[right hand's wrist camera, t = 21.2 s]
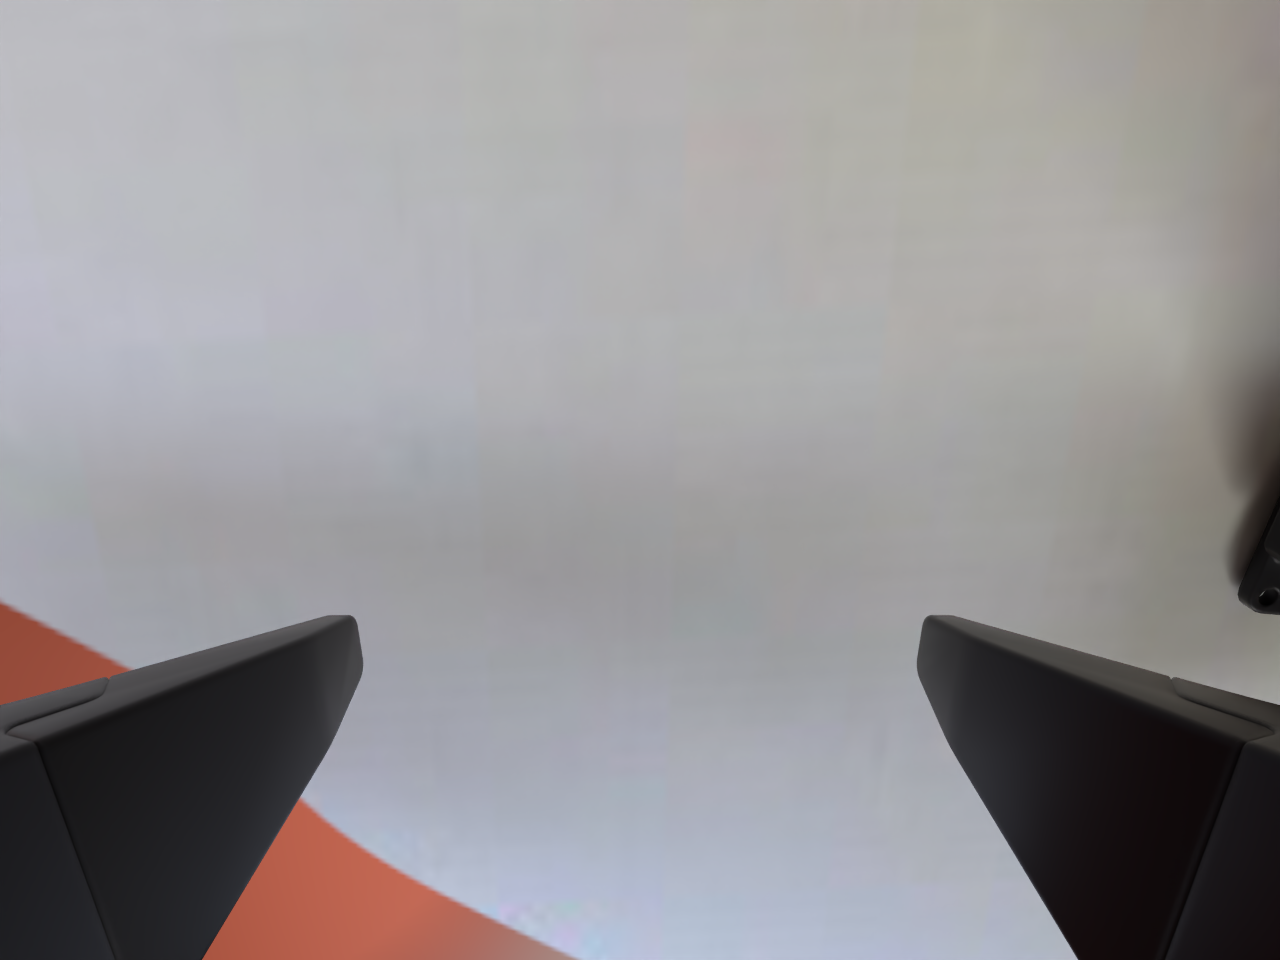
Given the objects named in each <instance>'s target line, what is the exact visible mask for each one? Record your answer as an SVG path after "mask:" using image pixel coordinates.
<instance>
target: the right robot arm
mask: <svg viewBox="0 0 1280 960" xmlns="http://www.w3.org/2000/svg"><path fill="white" fill-rule="evenodd" d="M1264 591H1265V592H1264ZM1262 592H1264V594H1263V595H1261V594H1262ZM1260 595H1261V596H1260ZM1259 596H1260V597H1259ZM1238 598H1239V600H1240V601H1241V602H1242V603H1243V604H1244V605H1246V606H1247V607H1249V608H1250V609H1252V610H1253V611H1255V612H1258V613H1263V614H1275V615H1280V497H1279V499H1278V501H1277V504H1276V506H1275V508H1274V511H1273V513H1272V515H1271V517H1270V520H1269V522H1268V524H1267V526H1266V529H1265V531H1264V533H1263V535H1262V538H1261V540H1260V542H1259V544H1258V547H1257V549H1256V551H1255V553H1254V556H1253V558H1252V560H1251V563H1250V565H1249V567H1248V569H1247V572H1246V574H1245V576H1244V578H1243V581H1242V583H1241V585H1240V587H1239V591H1238ZM362 671H363V657H362V651H361V644H360V638H359V632H358V626H357V622H356V620H355V618H354V617H353V616H350V615H329V616H324V617H320V618H317V619H313V620H310V621H306V622H303V623H299V624H296V625H292V626H288V627H285V628H281V629H278V630H274V631H271V632H267V633H263V634H260V635H256V636H253V637H249V638H246V639H242V640H239V641H235V642H231V643H228V644H224V645H221V646H217V647H214V648H210V649H207V650H203V651H199V652H196V653H192V654H189V655H185V656H182V657H178V658H174V659H171V660H167V661H164V662H160V663H157V664H153V665H150V666H146V667H142V668H139V669H135V670H132V671H128V672H125V673H121V674H118V675H114V676H111V677H110V679H108V678H106V677H104V678H100V679H96V680H93V681H89V682H85V683H82V684H79V685H75V686H71V687H67V688H64V689H60V690H56V691H52V692H49V693H45V694H41V695H38V696H34V697H30V698H26V699H23V700H19V701H15V702H11V703H7V704H3V705H0V960H202V959H203V957H204V955H205V954H206V952H207V950H208V949H209V947H210V945H211V944H212V942H213V940H214V939H215V937H216V935H217V934H218V932H219V930H220V929H221V927H222V925H223V924H224V922H225V920H226V919H227V917H228V915H229V914H230V912H231V911H232V909H233V907H234V906H235V904H236V902H237V901H238V899H239V897H240V895H241V894H242V892H243V891H244V889H245V887H246V886H247V884H248V882H249V881H250V879H251V877H252V876H253V874H254V872H255V871H256V869H257V867H258V866H259V864H260V862H261V861H262V859H263V857H264V856H265V854H266V852H267V851H268V849H269V847H270V846H271V844H272V842H273V841H274V839H275V838H276V836H277V834H278V832H279V831H280V829H281V827H282V826H283V824H284V823H285V821H286V819H287V817H288V816H289V814H290V813H291V811H292V809H293V808H294V806H295V804H296V803H297V801H298V799H299V798H300V796H301V794H302V793H303V791H304V789H305V788H306V786H307V784H308V783H309V781H310V779H311V778H312V776H313V774H314V773H315V771H316V769H317V768H318V766H319V765H320V763H321V761H322V760H323V758H324V756H325V754H326V753H327V751H328V749H329V747H330V745H331V743H332V741H333V739H334V737H335V735H336V733H337V731H338V728H339V726H340V724H341V722H342V719H343V717H344V715H345V713H346V710H347V708H348V706H349V704H350V701H351V699H352V697H353V694H354V692H355V690H356V688H357V685H358V683H359V681H360V678H361V675H362ZM917 671H918V675H919V678H920V681H921V683H922V685H923V688H924V690H925V692H926V694H927V697H928V699H929V701H930V704H931V706H932V708H933V710H934V713H935V715H936V717H937V719H938V722H939V724H940V726H941V728H942V731H943V733H944V735H945V737H946V739H947V741H948V743H949V745H950V747H951V749H952V751H953V753H954V754H955V756H956V758H957V760H958V761H959V763H960V765H961V766H962V768H963V769H964V771H965V773H966V774H967V776H968V778H969V779H970V781H971V783H972V784H973V786H974V788H975V789H976V791H977V793H978V794H979V796H980V798H981V799H982V801H983V803H984V804H985V806H986V808H987V809H988V811H989V813H990V814H991V816H992V818H993V819H994V821H995V823H996V824H997V826H998V828H999V829H1000V831H1001V833H1002V834H1003V836H1004V838H1005V839H1006V841H1007V842H1008V844H1009V846H1010V847H1011V849H1012V851H1013V852H1014V854H1015V856H1016V857H1017V859H1018V861H1019V862H1020V864H1021V866H1022V867H1023V869H1024V871H1025V872H1026V874H1027V876H1028V877H1029V879H1030V881H1031V882H1032V884H1033V886H1034V887H1035V889H1036V891H1037V892H1038V894H1039V896H1040V897H1041V899H1042V901H1043V902H1044V904H1045V906H1046V907H1047V909H1048V911H1049V912H1050V914H1051V915H1052V917H1053V919H1054V920H1055V922H1056V924H1057V925H1058V927H1059V929H1060V930H1061V932H1062V934H1063V935H1064V937H1065V939H1066V940H1067V942H1068V944H1069V945H1070V947H1071V949H1072V950H1073V952H1074V954H1075V955H1076V957H1077V959H1078V960H1280V705H1277V704H1273V703H1269V702H1265V701H1261V700H1258V699H1254V698H1250V697H1246V696H1242V695H1239V694H1235V693H1231V692H1228V691H1224V690H1220V689H1216V688H1213V687H1209V686H1205V685H1202V684H1198V683H1195V682H1191V681H1187V680H1184V679H1180V678H1177V677H1174V678H1172V679H1170V677H1169V676H1166V675H1162V674H1159V673H1155V672H1152V671H1148V670H1145V669H1141V668H1138V667H1134V666H1130V665H1127V664H1123V663H1120V662H1116V661H1113V660H1109V659H1105V658H1102V657H1098V656H1095V655H1091V654H1088V653H1084V652H1081V651H1077V650H1073V649H1070V648H1066V647H1063V646H1059V645H1056V644H1052V643H1049V642H1045V641H1041V640H1038V639H1034V638H1031V637H1027V636H1024V635H1020V634H1016V633H1013V632H1009V631H1006V630H1002V629H999V628H995V627H992V626H988V625H984V624H981V623H977V622H974V621H970V620H967V619H963V618H960V617H956V616H951V615H930V616H927V617H926V618H925V620H924V622H923V626H922V632H921V638H920V644H919V650H918V657H917Z"/></svg>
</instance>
